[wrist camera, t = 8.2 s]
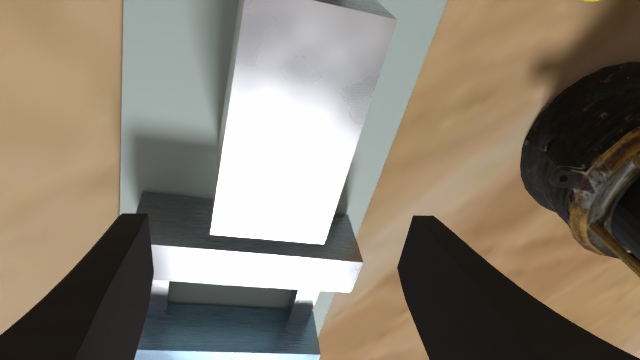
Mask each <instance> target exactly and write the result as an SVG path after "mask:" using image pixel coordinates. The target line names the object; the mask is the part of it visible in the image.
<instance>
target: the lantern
mask: <svg viewBox="0 0 640 360" xmlns="http://www.w3.org/2000/svg"><path fill="white" fill-rule="evenodd" d="M520 168H521V177H522V180H523V183H524V186H525V189H526V190H527V191H528V193H529V194H530V195H531V196H532V197H533V198H534V199H535V200H536V201H537V202H538V203H539V204H540V205H542V206H543V207H545V208H547V209H549V210H551V211H554V212H556V213H557V214H558V215H559V216H560V217H561V218H562V219H563V220H564V221H565V222H566V223H567V224H568V225H569V227H570V229H571V232H572V235H573V238H574V239H575V240H576V241H577V242H578V243H579V244H580V245H581V246H582V247H583V248H585V249H587V250H589V251H592V252H594V253H596V254H599V255H604V256H610V257H614V258H618V259H621V260H622V261H623V262H624V263H625V264H626V265H627V266H628V267H629V268H630V269H631V270H632V271H633V272H634V273H635V274H637V275H638V276H639V277H640V62H629V63H625V64H620V65H616V66H612V67H606V68H603V69H601V70H599V71H597V72H595V73H593V74H591V75H589V76H586V77H585V78H583V79H581V80H580V81H578V82H577V83H575V84H574V85H572V86H571V87H569V88H568V89H566V90H565V91H564V92H563V93H562V94H560V95H559V96H558V97H557V98H556V99H555V100H554V101H553V102H552V103H551V104H550V105H549V106H548V107H547V108H546V109H545V110H544V111H543V112H542V113H541V114H540V115H539V117H538V118H537V120H536V121H535V123H534V125H533V127H532V129H531V131H530V132H529V134H528V136H527V138H526V140H525V143H524V146H523V149H522V156H521V165H520Z"/></svg>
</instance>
